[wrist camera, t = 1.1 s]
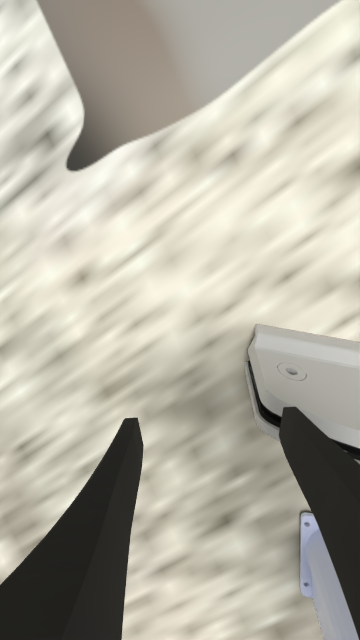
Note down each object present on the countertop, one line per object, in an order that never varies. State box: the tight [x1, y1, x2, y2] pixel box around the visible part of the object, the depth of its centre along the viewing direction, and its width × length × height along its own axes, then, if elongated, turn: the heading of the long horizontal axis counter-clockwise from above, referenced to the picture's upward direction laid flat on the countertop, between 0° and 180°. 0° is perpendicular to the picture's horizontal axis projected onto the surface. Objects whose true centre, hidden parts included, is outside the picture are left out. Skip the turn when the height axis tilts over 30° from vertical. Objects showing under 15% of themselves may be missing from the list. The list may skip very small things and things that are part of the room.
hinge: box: [245, 324, 360, 464], centre depth 18 cm, size 17×5×10 cm, turn 81°
